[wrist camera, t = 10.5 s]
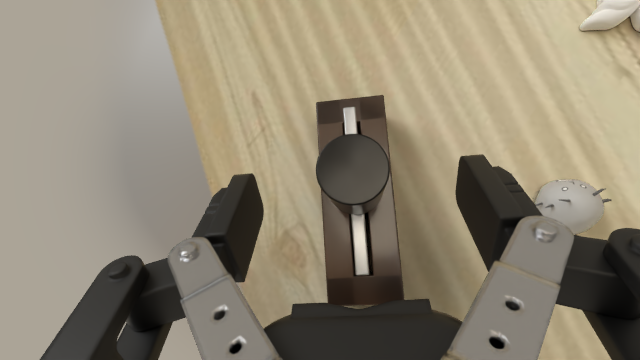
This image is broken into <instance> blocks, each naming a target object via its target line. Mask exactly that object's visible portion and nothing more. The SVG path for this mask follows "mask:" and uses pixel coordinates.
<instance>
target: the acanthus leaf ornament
mask: <svg viewBox="0 0 640 360" xmlns="http://www.w3.org/2000/svg"><path fill="white" fill-rule="evenodd" d="M629 16H630V18H631V23H632V26H633V27H634V29H635V30H636V31H639V32H640V0H597V8H596V9H595V10H594V11H593V12H592V14H591V16H590V17H588V18H587V19H586V20H585V21H584V22H583V23H582V24H581V25H580V27H579V28H580V30H581V31H587V30H608V29H611V28H613V27H615V26H617V25H618V24H620V23H621V22H623V21H624V20H625V19H627V18H628V17H629Z"/></svg>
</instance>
